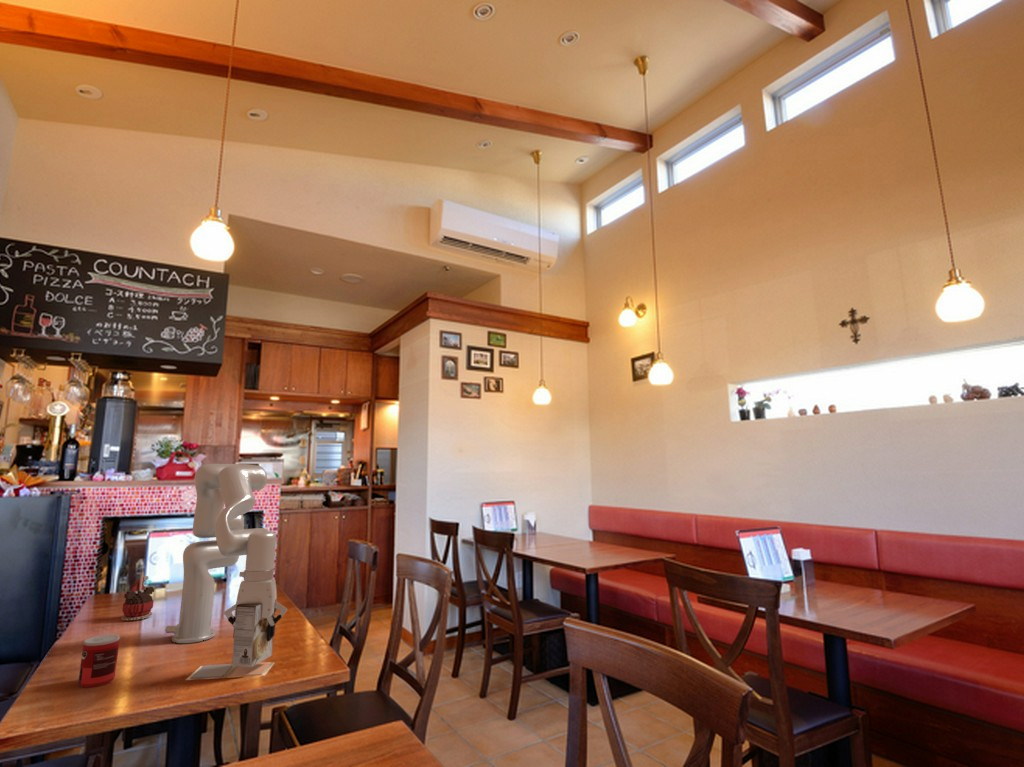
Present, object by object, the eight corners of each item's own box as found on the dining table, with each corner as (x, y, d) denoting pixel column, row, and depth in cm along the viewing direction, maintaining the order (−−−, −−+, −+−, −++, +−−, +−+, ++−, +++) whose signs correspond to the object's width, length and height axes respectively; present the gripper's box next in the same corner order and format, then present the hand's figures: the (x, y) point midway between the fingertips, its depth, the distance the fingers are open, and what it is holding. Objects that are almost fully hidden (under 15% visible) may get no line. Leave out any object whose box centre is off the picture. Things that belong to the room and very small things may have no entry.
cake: (131, 623, 192) (137, 572, 195) (113, 621, 195) (119, 571, 198) (158, 616, 202) (164, 567, 205) (141, 613, 205) (147, 566, 207)
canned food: (90, 676, 143) (96, 634, 145) (121, 676, 144) (126, 633, 145) (69, 688, 135) (76, 643, 137) (102, 687, 136) (108, 642, 138)
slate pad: (190, 678, 139) (190, 677, 139) (203, 666, 148) (203, 665, 148) (222, 677, 140) (222, 675, 140) (233, 664, 149) (234, 663, 149)
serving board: (184, 684, 138) (185, 679, 138) (200, 670, 148) (200, 666, 148) (264, 680, 142) (265, 675, 142) (274, 666, 151) (275, 662, 151)
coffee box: (252, 654, 151) (257, 596, 154) (272, 656, 150) (276, 597, 153) (230, 666, 142) (236, 604, 145) (251, 667, 141) (256, 605, 144)
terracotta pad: (230, 676, 141) (230, 675, 141) (241, 664, 149) (241, 663, 149) (261, 675, 142) (261, 673, 142) (270, 663, 151) (271, 661, 151)
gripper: (221, 579, 145) (215, 646, 142) (287, 577, 148) (282, 643, 145) (231, 573, 152) (225, 637, 149) (293, 572, 155) (289, 634, 152)
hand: (253, 640), depth 147 cm, fingers closed on coffee box, 7 cm apart
